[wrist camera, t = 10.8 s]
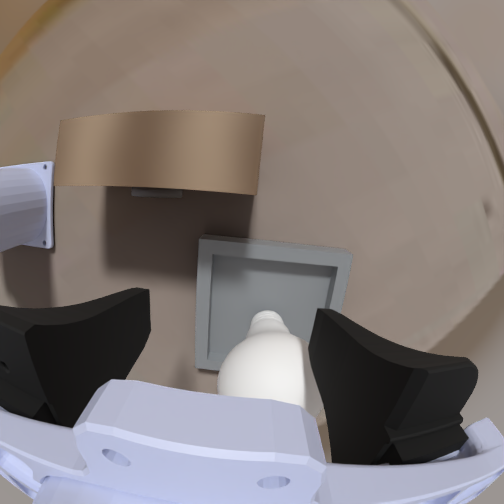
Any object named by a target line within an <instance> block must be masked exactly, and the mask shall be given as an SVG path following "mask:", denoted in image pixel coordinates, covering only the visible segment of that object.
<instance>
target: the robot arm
mask: <svg viewBox="0 0 504 504" xmlns="http://www.w3.org/2000/svg"><path fill="white" fill-rule="evenodd" d="M46 165H47V169H46ZM53 181H54V163H53V162H50V161H49V162H39V163H30V164H21V165H14V166H7V167H0V252H2V251H5V250H8V249H10V248H13V247H16V246H18V245H27V246H34V247H40V248H47V249H50V248H52V247H53V245H54V241H53ZM45 241H46V243H45ZM150 332H151V322H150V294H149V289H143V288H131V289H127V290H124V291H121V292H117V293H114V294H111V295H108V296H105V297H102V298H99V299H95V300H92V301H88V302H85V303H81V304H76V305H70V306H64V307H55V308H41V309H31V308H15V307H8V306H1V305H0V475H2V476H3V477H4V478H5V479H6V480H8V481H9V482H10V483H11V484H13V485H14V486H15V487H17V488H18V489H19V490H21V491H22V492H23V493H25V494H26V495H28V496H29V497H30V498H32V499H33V500H34V501H33V503H32V504H466V503H468V502H469V501H471V500H473V499H474V498H476V497H477V496H478V495H479V494H481V493H482V492H483V491H484V490H485V489H486V488H487V487H488V486H489V485H491V483H493V482H494V481H495V480H496V479H497V478H498V477H499V476H500V475H501V474H502V473H503V472H504V437H503V436H502V434H501V433H500V432H499V430H498V429H497V428H496V427H495V426H494V424H493V423H492V422H491V420H490V419H489V418H488V417H487V418H484V419H482V420H480V421H477V422H475V423H473V424H471V425H469V426H467V427H466V428H465V429H464V430H463V429H462V427H461V426H460V424H461V423H462V422H463V417H462V416H461V415H460V411H461V410H462V408H463V407H464V405H465V404H466V402H467V400H468V399H469V397H470V395H471V394H472V392H473V390H474V388H475V386H476V383H477V379H478V369H477V367H476V366H475V365H474V364H473V363H472V362H471V361H470V360H469V359H468V358H465V357H453V356H442V355H436V354H431V353H426V352H422V351H418V350H414V349H411V348H408V347H404V346H402V345H399V344H396V343H394V342H391V341H389V340H387V339H384V338H382V337H380V336H378V335H376V334H374V333H372V332H371V331H369V330H367V329H365V328H363V327H362V326H360V325H358V324H357V323H355V322H353V321H352V320H350V319H349V318H347V317H345V316H344V315H342V314H340V313H338V312H337V311H335V310H332V309H324V308H317V312H316V316H315V320H314V325H313V329H312V333H311V337H310V341H309V346H308V352H309V359H310V365H311V368H312V372H313V375H314V378H315V381H316V384H317V387H318V390H319V393H320V396H321V399H322V402H323V406H324V409H325V414H326V419H327V425H328V432H329V439H330V447H331V456H332V463H328V462H326V460H325V456H324V452H323V448H322V444H321V440H320V436H319V431H318V427H317V423H316V419H315V418H314V417H313V416H311V415H310V414H309V413H308V412H307V411H306V410H304V409H303V408H302V407H301V406H300V405H295V404H290V403H286V402H281V401H277V400H272V399H259V398H245V397H234V396H224V395H216V394H208V393H201V392H194V391H188V390H182V389H176V388H170V387H165V386H160V385H155V384H150V383H146V382H141V381H137V380H125V379H126V377H127V375H128V374H129V372H130V370H131V369H132V367H133V365H134V364H135V362H136V360H137V359H138V357H139V355H140V354H141V352H142V350H143V349H144V347H145V344H146V342H147V340H148V337H149V334H150Z"/></svg>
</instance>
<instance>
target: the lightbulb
mask: <svg viewBox="0 0 504 504" xmlns="http://www.w3.org/2000/svg"><path fill="white" fill-rule="evenodd" d="M308 346H309V343H308V342H306V341H305V340H303V339H301V338H299V337H296V336H294V335H292V334H290V332H289V330H288V328H287V327H286V326H285V325H284V323H283V320H282V318H281V317H280V315H279V314H277V313H276V312H274V311H269V310H266V311H261V312H259V313H257V314H256V315H255V316H254V317H253V318H252V321H251V325H250V329H249V331H248V333H247V335H246V339H245V340H244V341H242V342H241V343H239V344H238V345H236V346H235V347H234V348H233V349H232V350H231V351H230V352H229V354H228V355H227V357H226V358H225V360H224V362H223V363H222V365H221V368H220V371H219V374H218V381H217V390H218V395H224V396H234V397H245V398H259V399H272V400H277V401H281V402H286V403H290V404H295V405H300V406H301V407H302V408H303V409H304V410H306V411H307V412H308V413H309V414H310V415H311V416H313V417H314V418H316V417H317V415H318V414H319V412H320V411H321V409H322V408H323V402H322V399H321V396H320V393H319V390H318V387H317V384H316V381H315V378H314V375H313V372H312V368H311V365H310V359H309V352H308Z"/></svg>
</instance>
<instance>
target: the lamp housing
mask: <svg viewBox="0 0 504 504" xmlns="http://www.w3.org/2000/svg"><path fill="white" fill-rule="evenodd" d="M264 121H265V115H259V114H249V113H237V112H222V111H195V110H164V111H138V112H123V113H112V114H102V115H94V116H86V117H79V118H72V119H66V120H61V121H60V127H59V134H58V141H57V149H56V159H55V171H54V186H130V187H132V191H131V195H132V196H140V197H161V198H178V197H182V192H183V189H189V190H203V191H216V192H228V193H238V194H249V195H257V186H258V177H259V167H260V158H261V149H262V140H263V130H264Z"/></svg>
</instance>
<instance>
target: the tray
mask: <svg viewBox="0 0 504 504" xmlns="http://www.w3.org/2000/svg"><path fill="white" fill-rule="evenodd" d="M352 258H353V254H352V253H350V252H349V251H347V250H346V249H341V248H332V247H323V246H314V245H305V244H296V243H287V242H277V241H268V240H258V239H248V238H238V237H228V236H218V235H208V234H203V235H202V236H201V237H200V238H199V249H198V267H197V290H196V325H195V368H201V369H209V370H217V371H220V368H221V365H222V363H223V362H224V360H225V358H226V357H227V355H228V354H229V352H230V351H231V350H232V349H233V348H234V347H235V346H236V345H238V344H239V343H241V342H242V341H244V340H245V339H246V335H247V333H248V331H249V329H250V325H251V321H252V318H253V317H254V316H255V315H256V314H257V313H259V312H261V311H266V310H269V311H274V312H276V313H277V314H279V315H280V317H281V318H282V320H283V323H284V325H285V326H286V327H287V328H288V330H289V332H290V334H292V335H294V336H296V337H299V338H301V339H303V340H305V341H306V342H308V343H309V341H310V337H311V333H312V329H313V325H314V320H315V316H316V312H317V308H324V309H332V310H335V311H337V312H338V313H340V314H341V310H342V305H343V301H344V297H345V292H346V288H347V283H348V278H349V273H350V269H351V263H352Z"/></svg>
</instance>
